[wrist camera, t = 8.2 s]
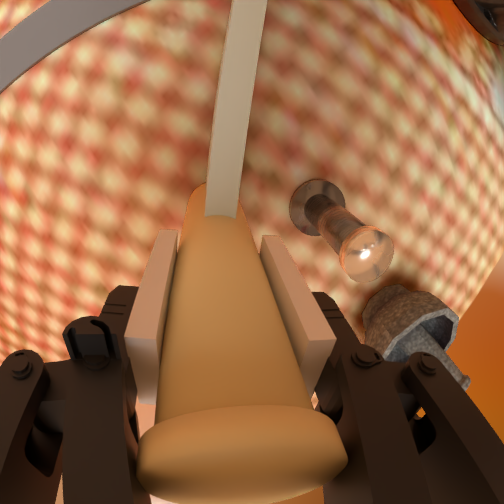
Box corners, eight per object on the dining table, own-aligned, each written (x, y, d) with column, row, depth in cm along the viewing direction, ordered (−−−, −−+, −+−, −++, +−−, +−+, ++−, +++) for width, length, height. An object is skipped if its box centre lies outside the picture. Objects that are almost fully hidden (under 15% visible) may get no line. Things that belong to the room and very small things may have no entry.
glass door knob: (336, 172, 21) (401, 207, 13) (346, 223, 23) (404, 276, 15) (282, 189, 21) (325, 235, 13) (297, 240, 23) (338, 304, 15)
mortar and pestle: (328, 327, 28) (377, 424, 17) (389, 253, 25) (471, 334, 14) (388, 352, 32) (434, 425, 21) (438, 295, 29) (500, 360, 18)
